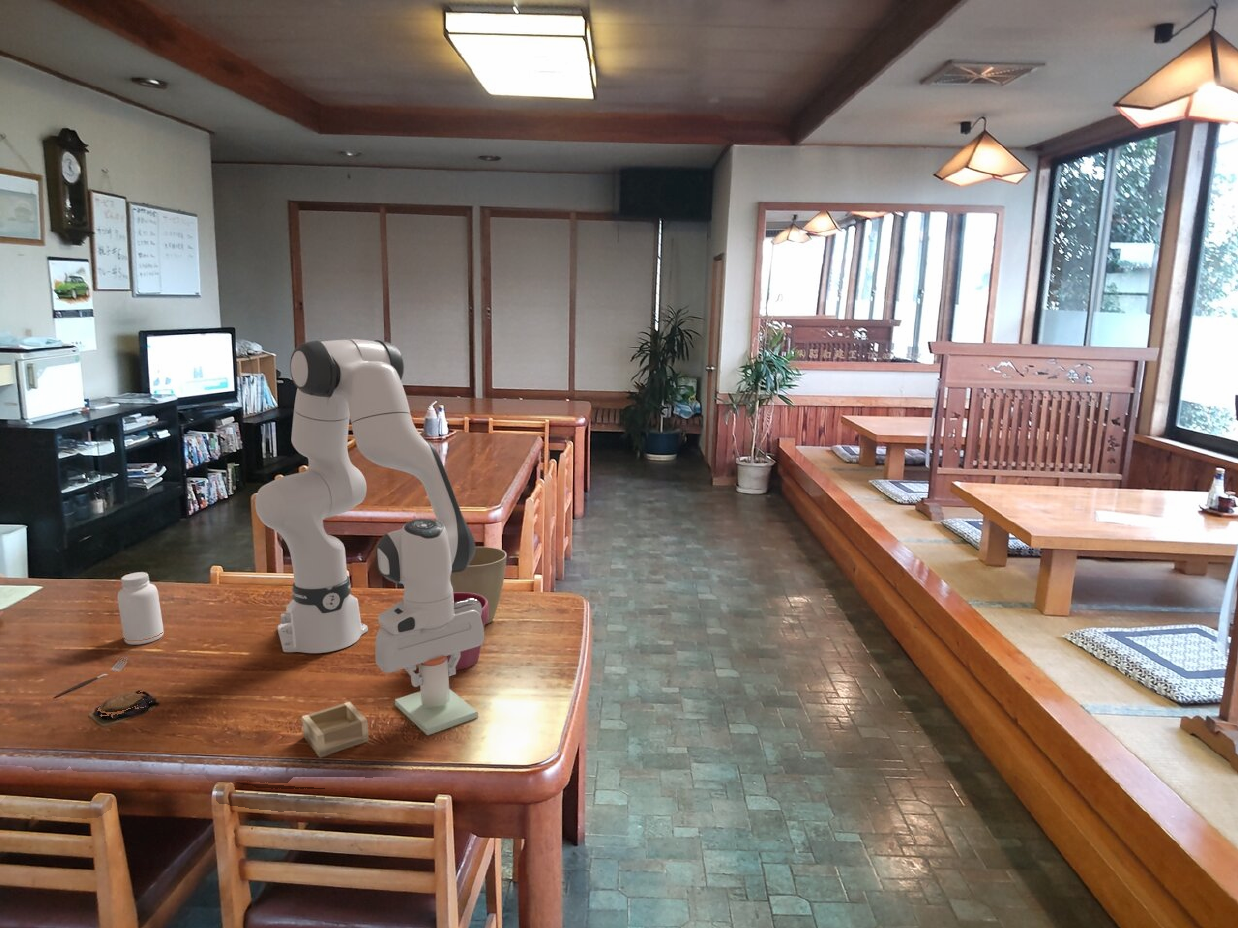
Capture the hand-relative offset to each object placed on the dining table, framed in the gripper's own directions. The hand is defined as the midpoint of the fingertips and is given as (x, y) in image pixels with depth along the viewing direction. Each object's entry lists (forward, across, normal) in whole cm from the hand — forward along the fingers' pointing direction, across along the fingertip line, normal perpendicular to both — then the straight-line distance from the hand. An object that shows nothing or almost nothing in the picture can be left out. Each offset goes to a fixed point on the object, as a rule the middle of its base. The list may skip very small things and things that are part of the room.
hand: (433, 679), depth 155 cm
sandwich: (+7, +46, -38) cm, 60 cm away
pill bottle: (+7, +37, -73) cm, 82 cm away
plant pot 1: (+7, -27, -34) cm, 44 cm away
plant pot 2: (+7, -13, -17) cm, 22 cm away
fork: (+7, +49, -56) cm, 75 cm away
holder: (+6, +18, -2) cm, 19 cm away
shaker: (+4, 0, 0) cm, 4 cm away
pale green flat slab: (+6, 0, 0) cm, 6 cm away
